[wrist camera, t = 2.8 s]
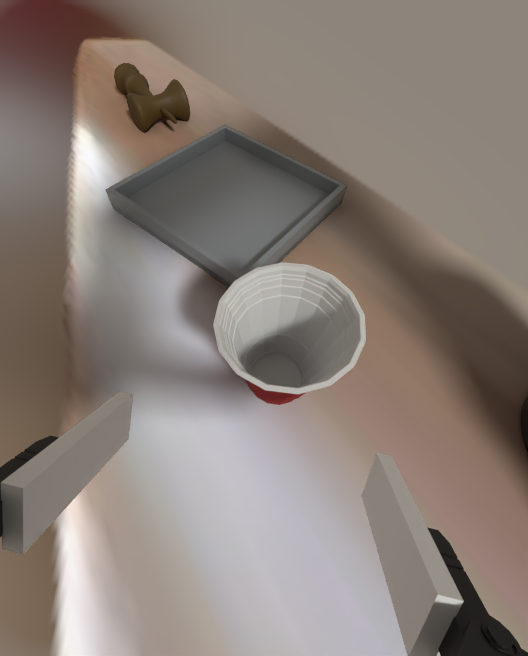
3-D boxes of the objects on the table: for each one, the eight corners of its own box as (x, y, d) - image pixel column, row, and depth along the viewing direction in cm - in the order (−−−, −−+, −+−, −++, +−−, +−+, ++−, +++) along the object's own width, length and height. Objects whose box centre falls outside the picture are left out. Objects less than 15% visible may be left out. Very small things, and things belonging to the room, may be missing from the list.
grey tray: (341, 202, 46) (347, 185, 44) (243, 297, 36) (243, 281, 33) (225, 142, 53) (224, 124, 50) (113, 208, 42) (105, 189, 40)
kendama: (154, 90, 62) (203, 132, 54) (109, 102, 59) (155, 149, 51) (145, 53, 57) (198, 93, 49) (95, 64, 54) (144, 109, 46)
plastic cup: (221, 333, 33) (213, 258, 23) (316, 331, 34) (348, 258, 24) (221, 434, 28) (210, 395, 18) (333, 428, 29) (385, 388, 19)
